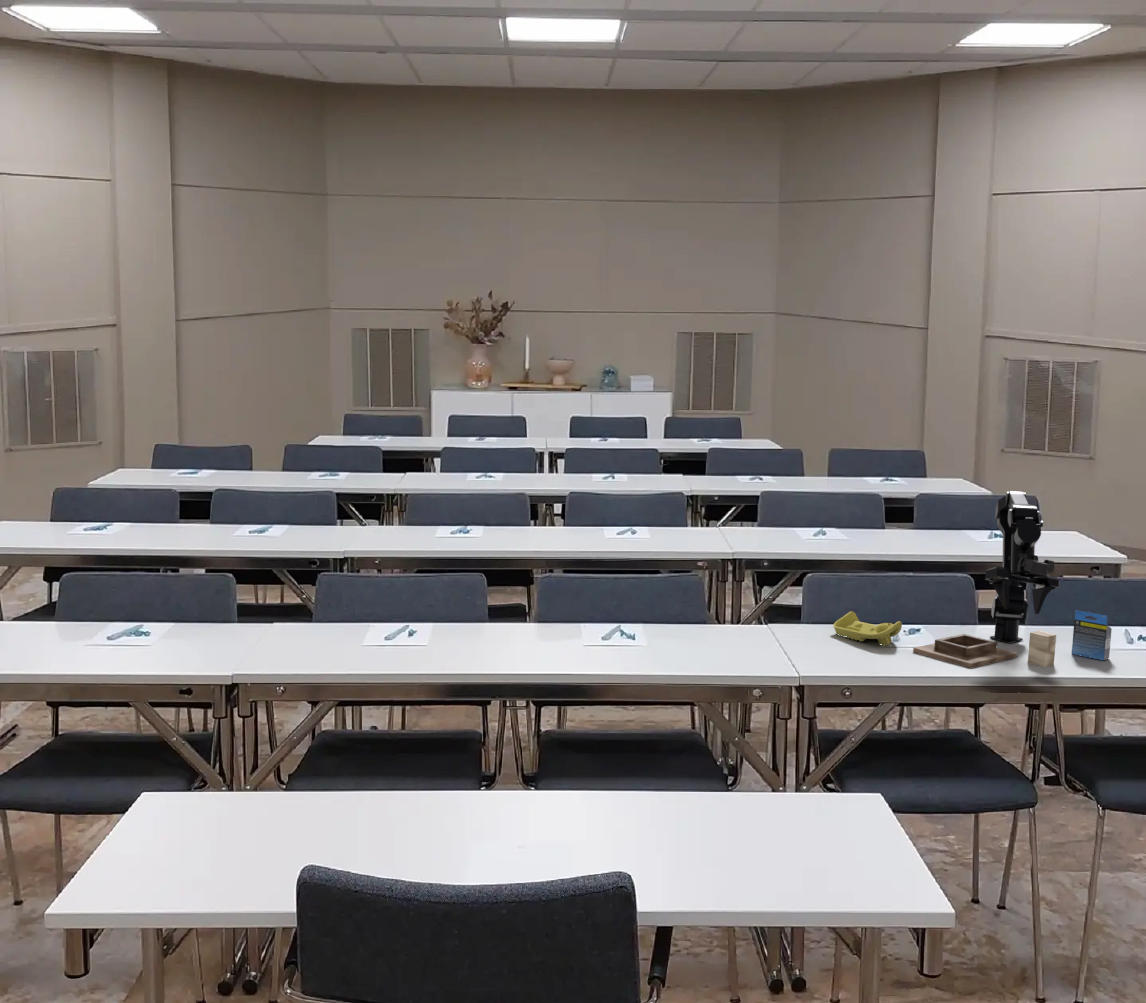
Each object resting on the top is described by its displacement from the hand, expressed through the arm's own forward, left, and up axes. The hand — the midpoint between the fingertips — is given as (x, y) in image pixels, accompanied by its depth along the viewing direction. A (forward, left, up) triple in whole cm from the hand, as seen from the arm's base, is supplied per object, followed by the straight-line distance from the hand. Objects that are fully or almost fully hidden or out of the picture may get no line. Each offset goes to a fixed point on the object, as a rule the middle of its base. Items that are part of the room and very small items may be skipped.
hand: (1021, 611), depth 331 cm
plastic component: (+16, -36, -14) cm, 42 cm away
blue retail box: (-23, +7, -14) cm, 28 cm away
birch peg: (-5, +4, -14) cm, 15 cm away
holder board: (+5, -12, -14) cm, 19 cm away
